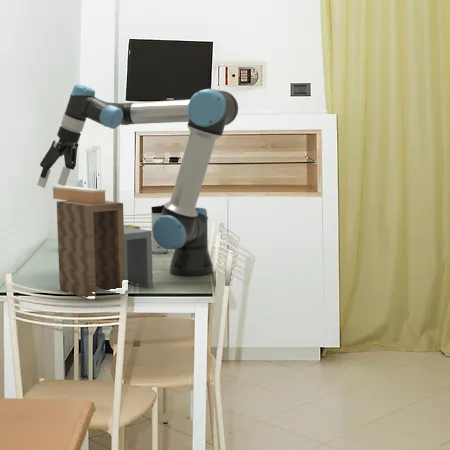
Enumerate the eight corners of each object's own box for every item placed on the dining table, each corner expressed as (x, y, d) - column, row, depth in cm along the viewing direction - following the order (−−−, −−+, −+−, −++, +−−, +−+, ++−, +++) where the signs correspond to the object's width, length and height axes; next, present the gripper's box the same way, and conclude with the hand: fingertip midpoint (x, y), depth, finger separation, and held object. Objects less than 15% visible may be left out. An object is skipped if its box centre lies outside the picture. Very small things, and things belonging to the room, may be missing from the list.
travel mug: (160, 254, 305) (159, 205, 303) (149, 253, 310) (148, 204, 307) (171, 253, 310) (170, 204, 308) (160, 251, 314) (159, 203, 312)
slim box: (53, 198, 246) (52, 186, 246) (65, 197, 249) (65, 185, 248) (92, 203, 226) (91, 190, 225) (105, 202, 229) (105, 189, 228)
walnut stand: (59, 289, 239) (56, 201, 236) (93, 284, 247) (90, 198, 243) (90, 299, 224) (87, 205, 220) (125, 294, 231) (123, 203, 228)
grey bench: (94, 282, 249) (92, 228, 247) (123, 278, 256) (122, 225, 254) (123, 291, 235) (121, 234, 233) (152, 286, 242) (151, 231, 240)
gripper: (79, 126, 274) (60, 180, 278) (42, 123, 250) (22, 182, 255) (96, 133, 272) (77, 188, 276) (61, 132, 248) (41, 191, 253)
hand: (51, 185), depth 265 cm, fingers open, 13 cm apart
